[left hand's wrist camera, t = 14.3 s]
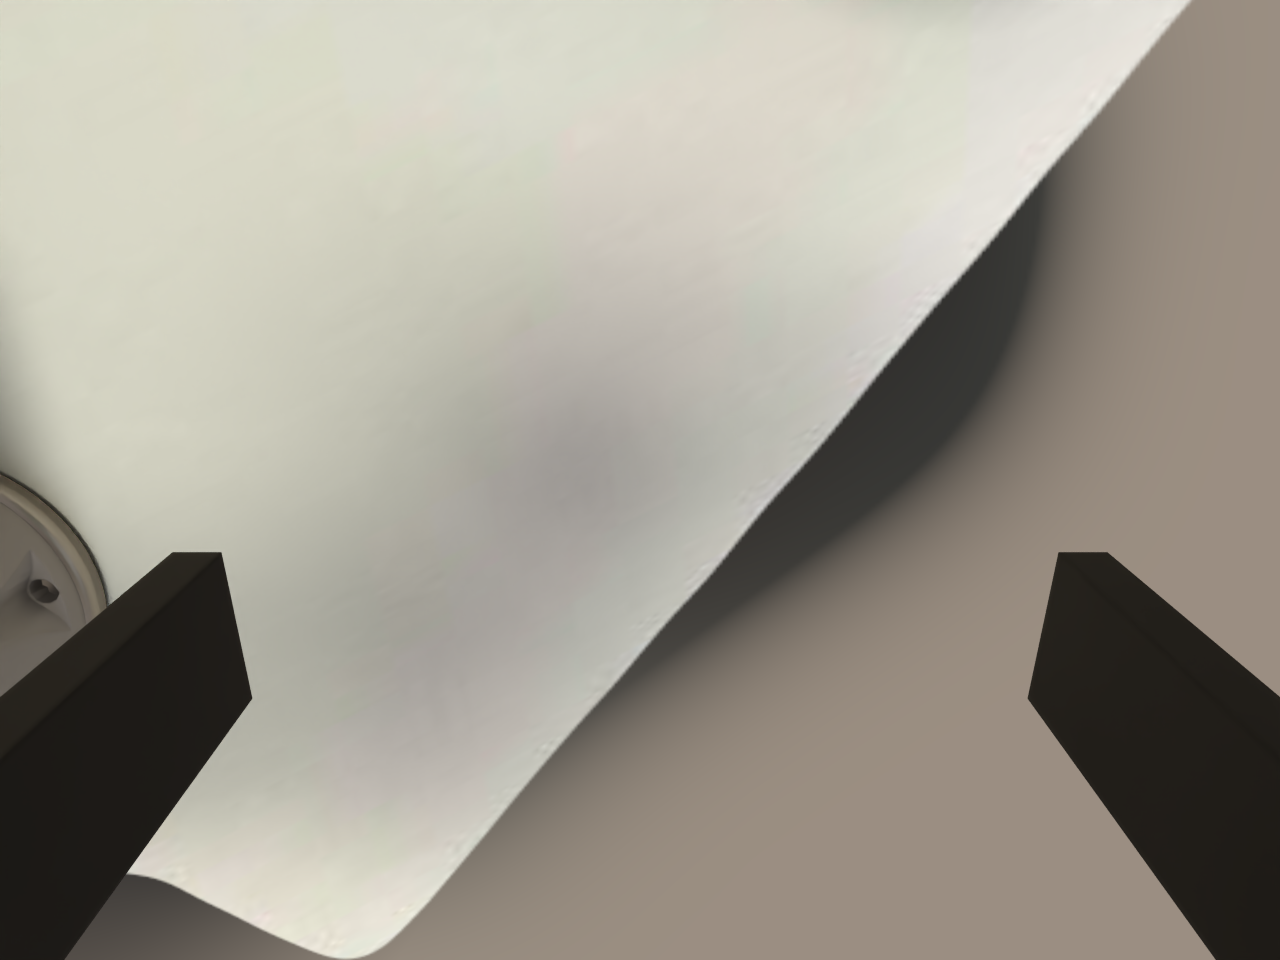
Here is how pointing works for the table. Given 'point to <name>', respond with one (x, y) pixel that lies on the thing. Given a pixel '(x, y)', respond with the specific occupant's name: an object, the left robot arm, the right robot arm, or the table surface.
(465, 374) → the table surface
